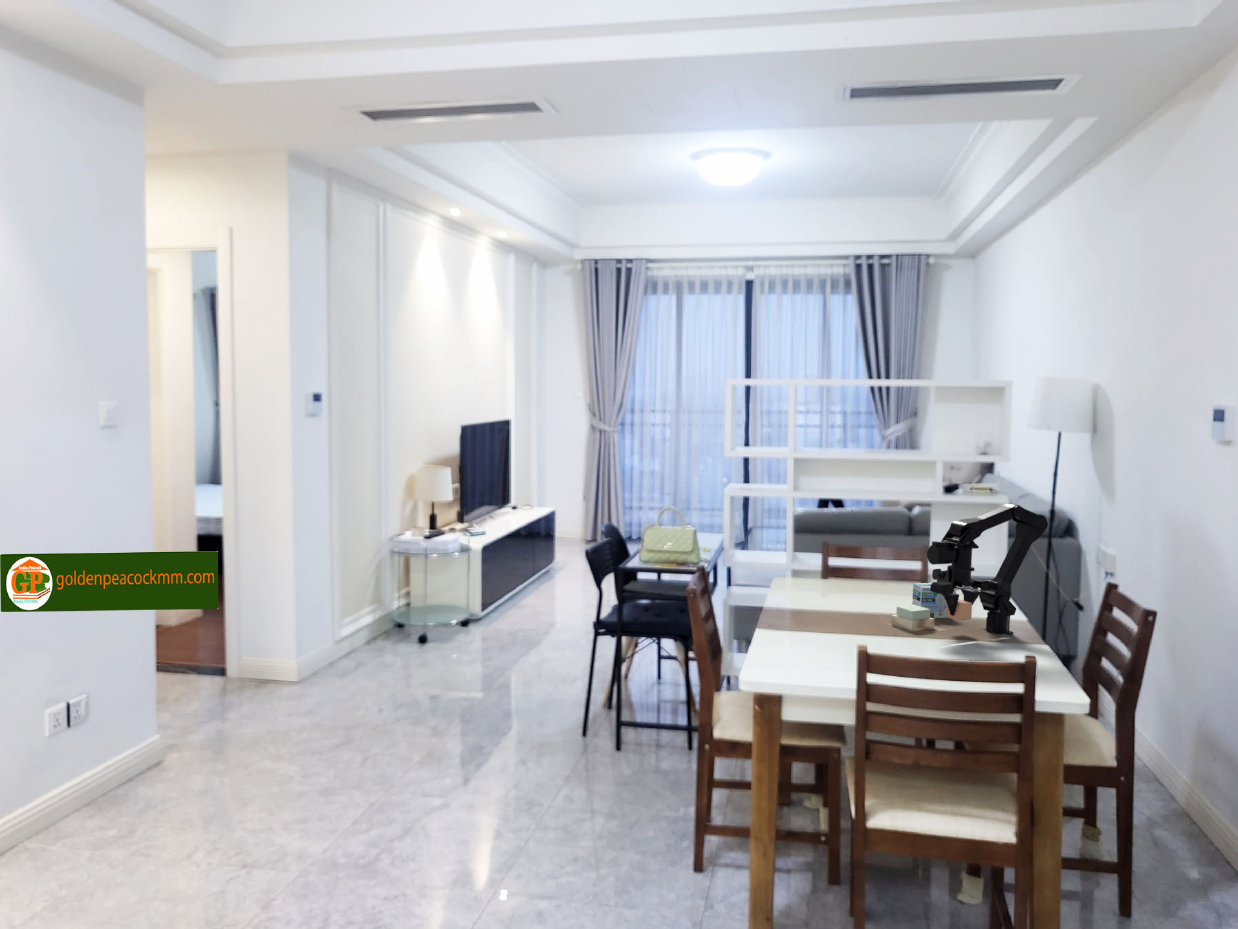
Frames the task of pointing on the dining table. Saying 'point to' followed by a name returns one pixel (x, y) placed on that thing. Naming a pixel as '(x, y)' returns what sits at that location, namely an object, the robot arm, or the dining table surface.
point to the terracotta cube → (961, 611)
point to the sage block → (913, 612)
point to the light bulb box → (929, 600)
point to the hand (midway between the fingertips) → (959, 614)
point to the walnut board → (937, 628)
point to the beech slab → (912, 623)
